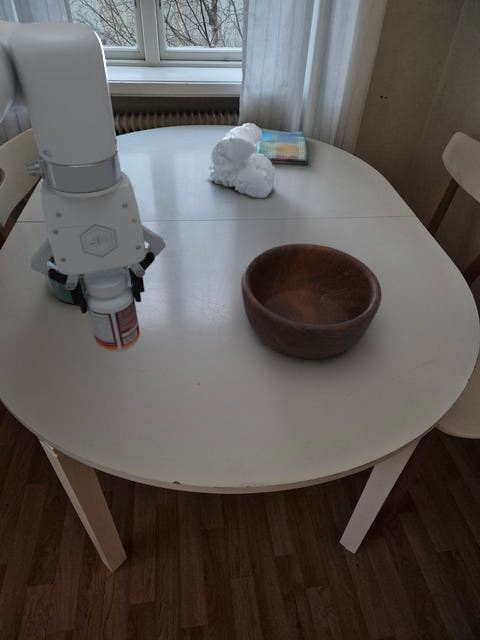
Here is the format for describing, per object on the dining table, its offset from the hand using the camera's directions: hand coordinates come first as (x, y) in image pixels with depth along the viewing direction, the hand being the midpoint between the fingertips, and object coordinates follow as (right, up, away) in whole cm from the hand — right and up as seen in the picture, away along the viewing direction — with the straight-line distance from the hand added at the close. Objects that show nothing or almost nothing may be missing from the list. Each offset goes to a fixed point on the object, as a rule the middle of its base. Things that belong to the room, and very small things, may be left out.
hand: (110, 300), depth 56 cm
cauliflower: (+17, +37, +70) cm, 81 cm away
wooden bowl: (+29, -3, +28) cm, 40 cm away
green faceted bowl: (-15, +6, +35) cm, 39 cm away
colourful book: (+31, +55, +90) cm, 110 cm away
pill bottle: (0, -5, +5) cm, 7 cm away
